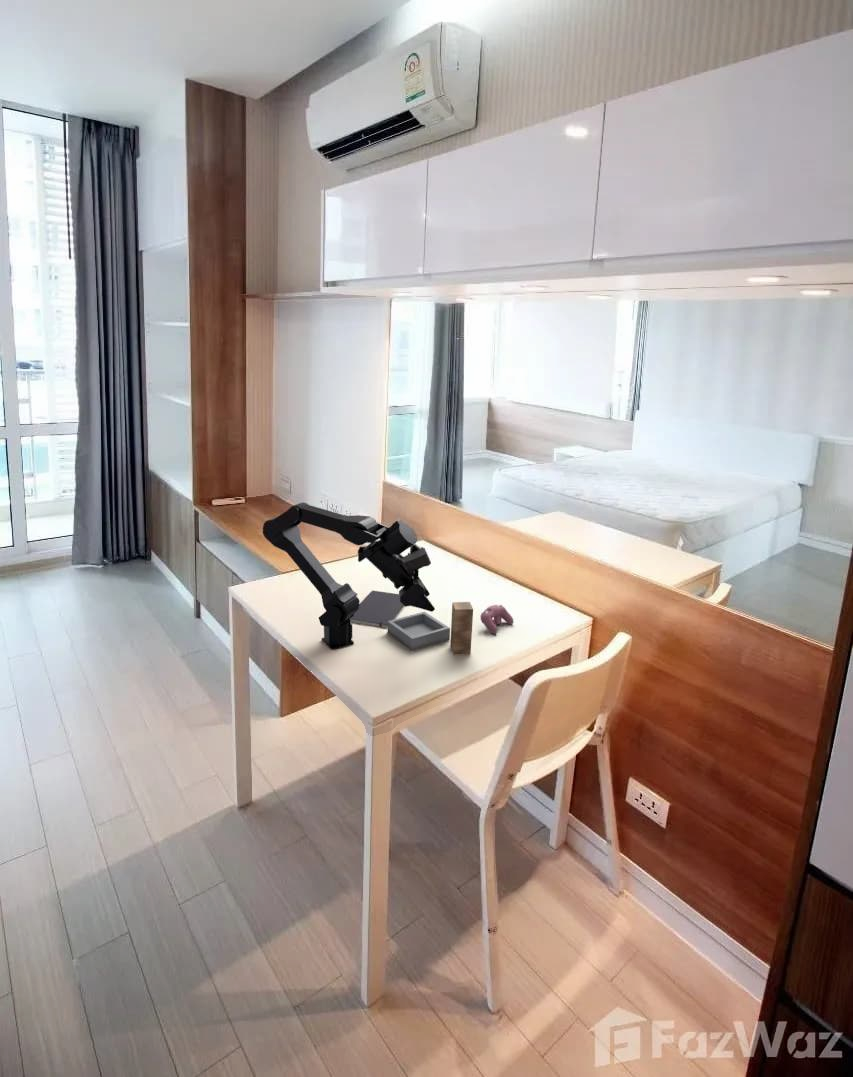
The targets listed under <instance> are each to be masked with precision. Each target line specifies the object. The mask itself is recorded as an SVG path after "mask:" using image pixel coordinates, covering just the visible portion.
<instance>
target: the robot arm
mask: <svg viewBox="0 0 853 1077" xmlns="http://www.w3.org/2000/svg"><path fill="white" fill-rule="evenodd" d="M301 523H304V524H307V525H310V526H314V527H318V528H321V529H324V530H327V531H330V532H334V533H337V534H338V535H340V536H341V537H342V538H343V539H344V540H346V541H347V542H349V543H352V544H353V545H356V546H359V548H358V550H357V555H358V556H357V557H358V558H357V562H359V563H361V562H362V561H363V560H365V559H366V560H368V562H370V563H371V564H372V565H373V566H374V567H375V568H377V570H378V571H380V573H381V575H382V577H383V578H384V579H388V580H389V581H390V582H391V583H392V584H393V586H394V588H395V589H396V590H398V594H399V599H400V602H401V603H402V604H403V605H404V606H405V608H406V607H412V608H418V609H421V610H424V611H428V612H432V613H433V612H434V611H435V610H436V609H435V606H434V605H433V603H432V601H430V600H429V598H428V596H430V591H429V590H428V589H427V587H426V585H425V584H424V583H423V581H422V580H421V578H420V576H419V574H420V573H419V570H420V569H422V568H424V567H428V566H431V564H432V561H431V559H430V557H429V555H428V552H427V550H426V548H425V547H423V546H421V547H420V546H419V545H418V544H417V542H418V535H417V532H416V531H415V529H414V528H413V527H411V525H409V524H408V523H405V522H403V520H402V519H401V518H400V519H398V520H396V521H395V522H393V523H392V525H391V526H387V525H384V524H382V523H380V522H377V519H375V518H374V517H373V516H369V515H358V514H357V515H344V514H342V513H338V512H334V511H331V510H328V509H324V508H321V507H317V506H314V505H311V504H309V503H307V502H299V503H297V504H294V505H292V506H291V507H290V508H288V509H287V510H286V511H284V512H283V513H281V514H280V515H278V516H276V517H273V518H270V519H268V520H266V521H264V523H263V525H262V535H263V536H264V538H265V539H266V540H267V541H268V542H269V543H270V544H271V545H272V546H273V547H275V548H277V549H279V550H282V551H283V552H285V553H286V554H287V555H288V556H289V557H290V559H291V560H292V561H293V562H294V563H295V565H296V566H297V567H298V569H299V570H300V571H301V572H302V573H303V574H304V576H305V577H306V578H307V579H308V580H309V582H310V583H311V584H312V585H313V587H314V588H315V589H316V591H318V593H319V594H320V597H321V601H322V606H323V608H324V609H325V612H323V613H322V614H321V615H320V616H319V617H318V620H319V624H320V625H321V626H323V637H322V638H321V642H323V643H324V644H325V645H326V646H327V647H328V648H329V649H330V650H332V651H334V650H338V649H341V648H345V647H348V646H351V645H354V644H355V641H354V640H352V639H353V624H352V622H351V620H350V618H351V617H353V616H354V613H355V612H357V610H358V609H359V604H360V603H361V602H360V599H359V598H358V594H359V593H357V592H356V591H355V590H353V588H352V586H351V585H350V584H349V583H348V582H346V583H344V584H341V583H338V582H337V581H336V580H335V579H334V577H332V575H331V574H330V572H328V571H327V569H326V568H325V567H324V566H323V564H321V562H320V561H319V559H317V557H316V556H315V554H314V553H313V552H312V551H311V550H310V548H308V546H307V545H306V544H305V543H304V541H303V540H302V536H301V531H300V528H299V525H300V524H301ZM366 543H368V545H366V546H363V545H365V544H366ZM408 549H409V550H410V551H409V552H407V555H404V556H403V555H402V553H404V552H405V551H406V550H408ZM401 587H402V588H401ZM399 589H400V590H399Z"/></svg>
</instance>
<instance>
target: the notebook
mask: <svg viewBox="0 0 853 1077" xmlns="http://www.w3.org/2000/svg"><path fill="white" fill-rule="evenodd" d="M405 608H406V607H405V606H404V605H403V604H402V603H401V602H400V599H399V593H391V592H386V591H380V590H379V591H378V590H371V591H370V592H369V593H368V594H367V595H366V596H365V597H364V598H363V599H362V601H361V602H359V609H358V610H357V612H355V613H354V616H353V617H351V618H350V620H351V623H354V624H362V625H367V626H368V625H369V626H374V627H379V628H388V621H390V620H394V619H398V617H399V615H400V614H401V613H402V612H403V610H404V609H405Z"/></svg>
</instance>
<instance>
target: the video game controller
mask: <svg viewBox="0 0 853 1077" xmlns="http://www.w3.org/2000/svg"><path fill="white" fill-rule="evenodd" d="M502 620H504V622H506V623H507V624H508V625H513V624H514V618H513V617H512V615H511V614H510V613H509V612H508V610H507V609H506V607H505V606H503V604H493V605H489V606H488V607H486V608H485V610H484V611H483V612H481V614H480V621H481V623H482V624H483V625H484V627H485V628H486V629H487V630H488V631H489V632H490V633H491V634H492V635H497V633H498V628H497V627H496V626H497V625H498V626H499V625H501V624H502V622H503V621H502Z"/></svg>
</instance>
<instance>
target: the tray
mask: <svg viewBox="0 0 853 1077" xmlns="http://www.w3.org/2000/svg"><path fill="white" fill-rule="evenodd" d="M387 634H388V635H389V636H391V637H392V638H394V639H395V640H396V641H397V642H399V643H400V644H402V645H403V646H404V647H406V648H407V649H408V650H410V651H411V652H413V651H416V650H419V649H420V650H421V649H423V648H427V647H430V646H434V645H437V644H441V643H444V642H447V641H451V627H449V626H448V625H447V624H445V623H443V622H441V621H440V620H438V619H437V618H436V617H434V616H432V615H431V614H429V613H428V612H425V611H421V612H418V613H415V614H414V613H413V614H411V615H405V616H403V617H399V618H398V617H397V618H396V619H394V620H390V621H388V627H387Z"/></svg>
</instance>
